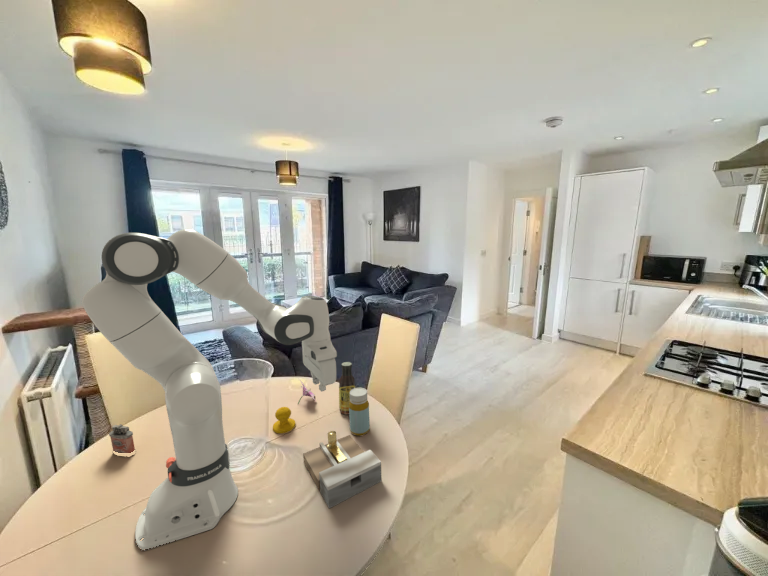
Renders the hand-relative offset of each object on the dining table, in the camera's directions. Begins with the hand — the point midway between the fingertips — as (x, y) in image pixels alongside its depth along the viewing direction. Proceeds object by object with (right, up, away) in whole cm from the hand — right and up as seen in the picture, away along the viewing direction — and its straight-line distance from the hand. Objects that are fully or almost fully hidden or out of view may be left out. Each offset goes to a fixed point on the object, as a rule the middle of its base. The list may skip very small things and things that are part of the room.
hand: (319, 386), depth 101 cm
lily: (-11, -17, +32) cm, 37 cm away
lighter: (-65, -23, +2) cm, 69 cm away
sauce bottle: (+6, -17, +24) cm, 30 cm away
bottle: (+12, -19, +11) cm, 26 cm away
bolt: (+7, -19, -6) cm, 21 cm away
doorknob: (-16, -20, +14) cm, 29 cm away
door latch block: (+8, -23, -8) cm, 25 cm away
